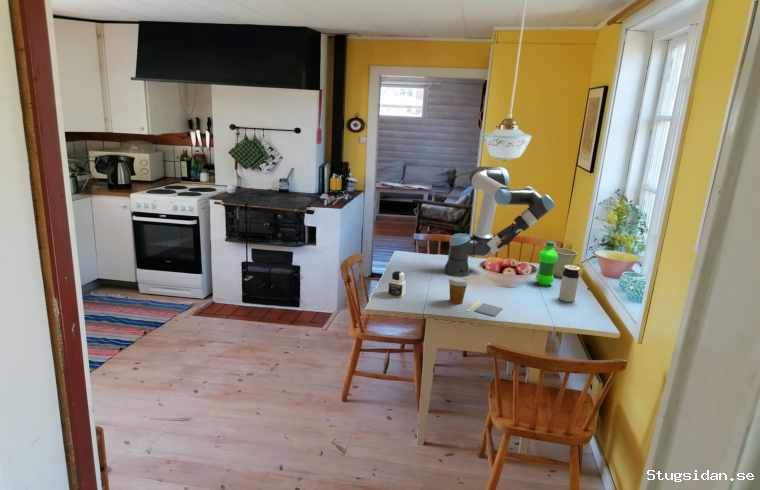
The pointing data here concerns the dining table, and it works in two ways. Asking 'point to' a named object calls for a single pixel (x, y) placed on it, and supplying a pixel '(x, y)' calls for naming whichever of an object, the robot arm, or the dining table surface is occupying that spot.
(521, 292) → the dining table surface
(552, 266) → the plastic bottle
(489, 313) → the mat
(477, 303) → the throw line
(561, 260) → the plant pot
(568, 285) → the travel mug
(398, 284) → the medicine bottle
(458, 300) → the disposable coffee cup
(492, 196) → the robot arm
